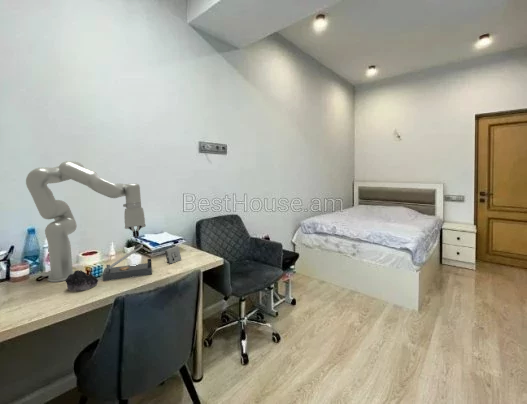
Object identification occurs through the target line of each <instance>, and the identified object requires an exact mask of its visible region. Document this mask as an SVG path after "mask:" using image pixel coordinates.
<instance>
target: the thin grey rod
mask: <svg viewBox="0 0 527 404" xmlns="http://www.w3.org/2000/svg"><path fill="white" fill-rule="evenodd" d="M142 248H143V244H140V243H139V244H137V245H135V246H134V249H133V250H132V251H130V252H128V253H127V254H125V255H124V256H123V257H121V258H119V259H118V260H117V261H115V262H114V263H112V264H110V266H109V269H111V268H112V267H116V266H117V265H118V264H120V263H121V262H122V261H124V260H126V259H127V258H129V257H130V256H131V255H133V254H134V253H135V252H137V251H139V250H140V249H142Z"/></svg>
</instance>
